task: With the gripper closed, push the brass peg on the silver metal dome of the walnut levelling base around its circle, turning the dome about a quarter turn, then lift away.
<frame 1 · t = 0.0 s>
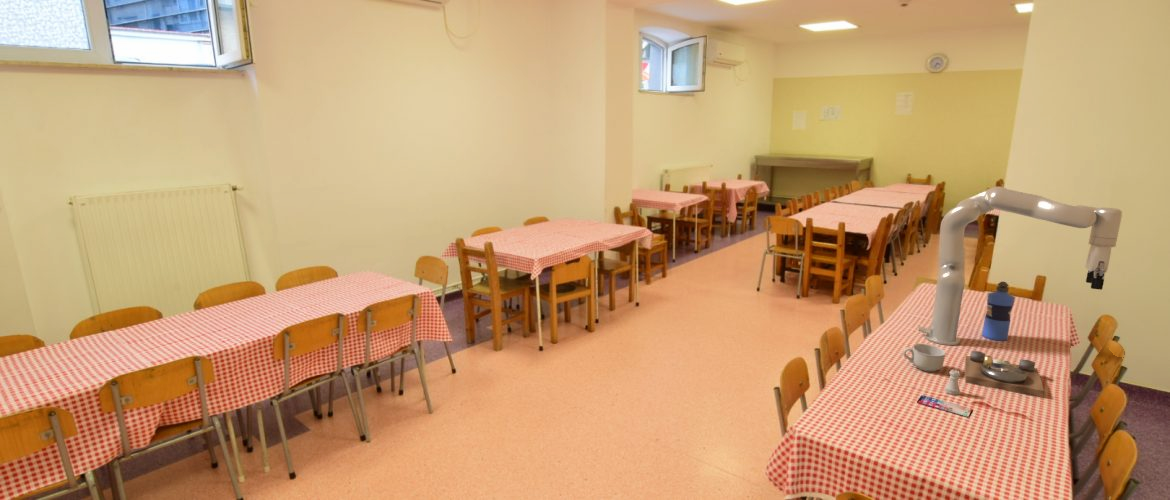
hand: (1093, 285, 215), 31 cm above the table, tool pointing down, fingers open, 9 cm apart
smartphone: (944, 407, 187), on the table
levelling base: (1001, 378, 208), on the table
teacup: (921, 368, 217), on the table
silver metal dome: (1004, 367, 203), point 6 cm above the table, hinge at 0.0°
rook chess piece: (951, 393, 197), on the table
water bottle: (994, 337, 248), on the table
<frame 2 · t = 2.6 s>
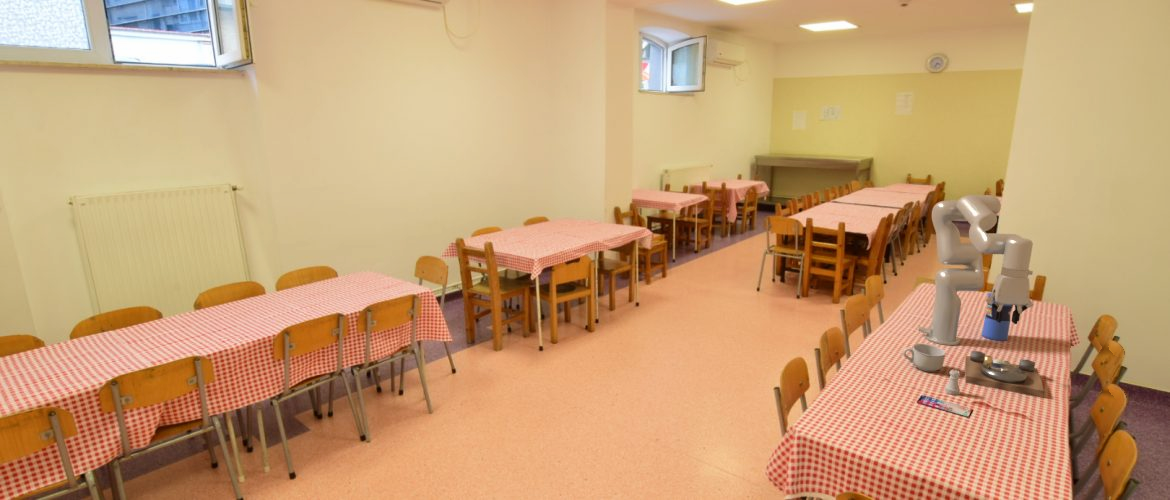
hand: (1006, 321, 205), 21 cm above the table, tool pointing down, fingers open, 4 cm apart
nothing on the table moved.
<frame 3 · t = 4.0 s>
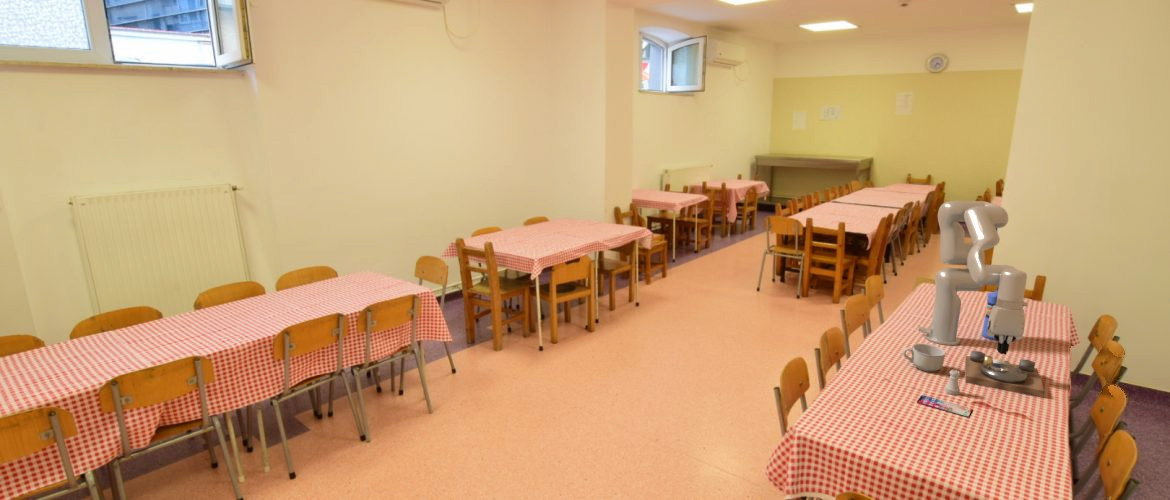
hand: (1001, 352, 206), 10 cm above the table, tool pointing down, fingers closed
nothing on the table moved.
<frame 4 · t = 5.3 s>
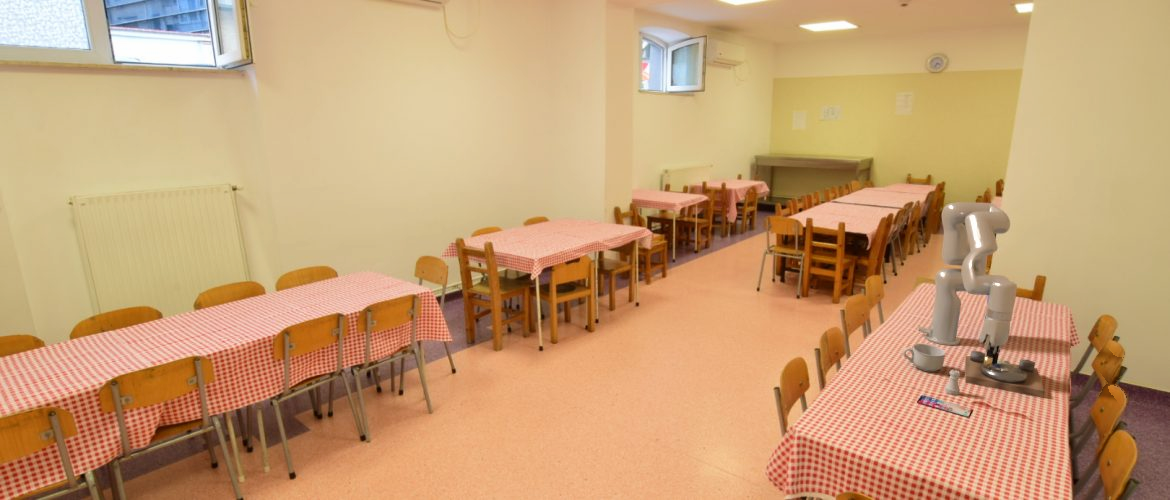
hand: (991, 362, 208), 6 cm above the table, tool pointing down, fingers closed
silver metal dome: (1004, 367, 203), point 6 cm above the table, hinge at 3.7°, touching gripper
everything else where it was.
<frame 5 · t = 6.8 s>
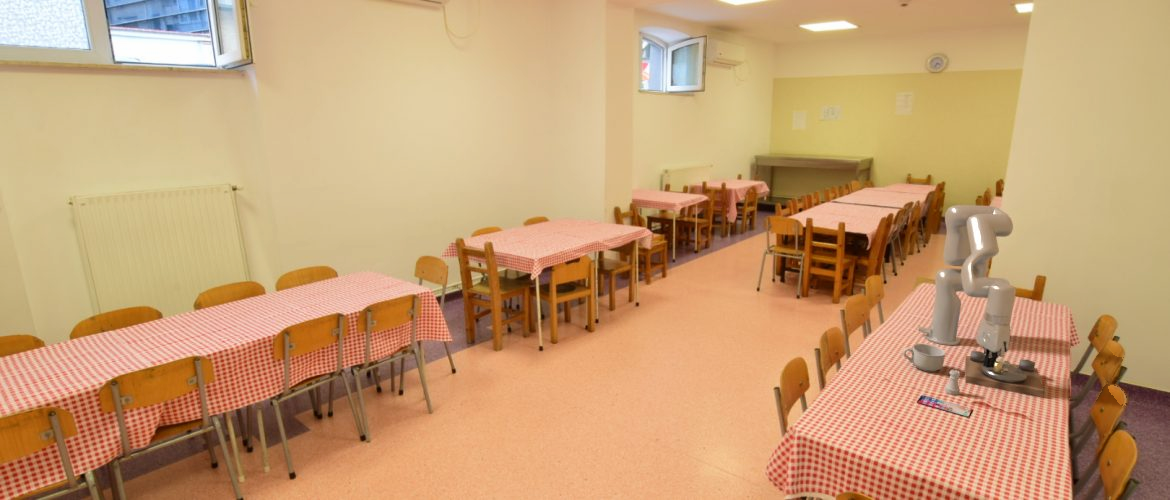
hand: (988, 366, 204), 6 cm above the table, tool pointing down, fingers closed
silver metal dome: (1004, 367, 203), point 6 cm above the table, hinge at 62.5°, touching gripper
everything else where it was.
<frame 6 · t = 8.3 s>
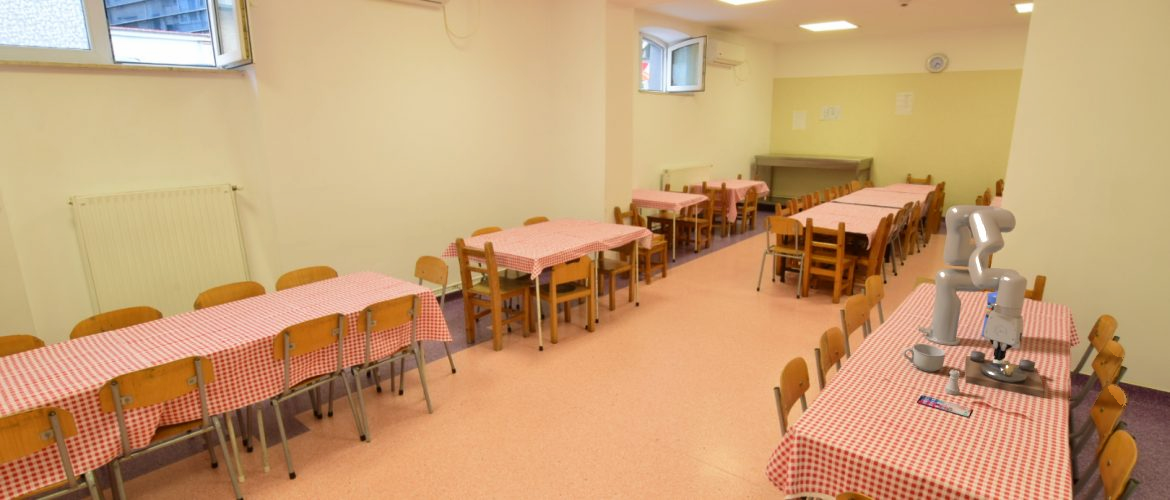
hand: (998, 359, 201), 10 cm above the table, tool pointing down, fingers closed
silver metal dome: (1004, 367, 203), point 6 cm above the table, hinge at 99.7°
everything else where it was.
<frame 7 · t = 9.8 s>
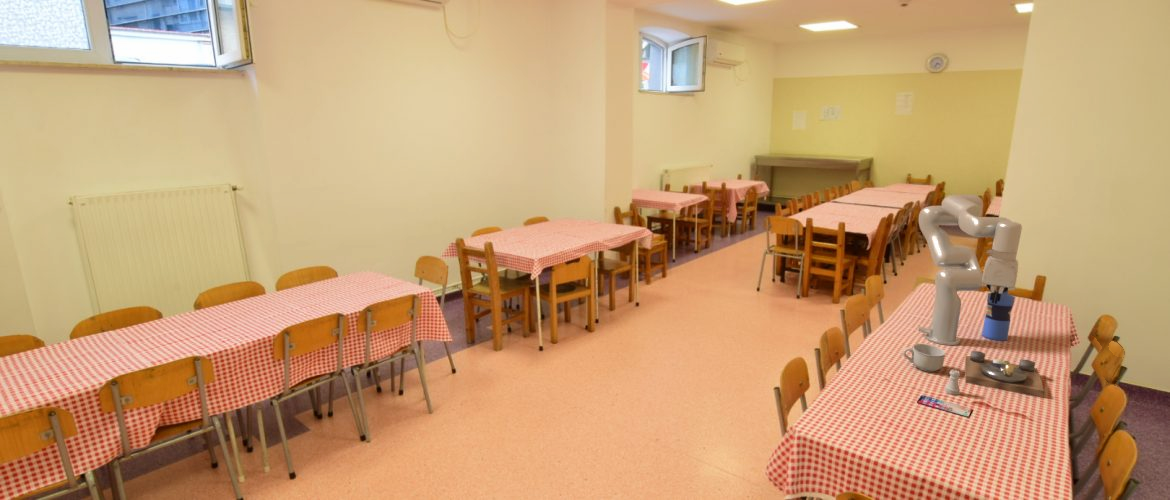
hand: (994, 302, 213), 25 cm above the table, tool pointing down, fingers closed
nothing on the table moved.
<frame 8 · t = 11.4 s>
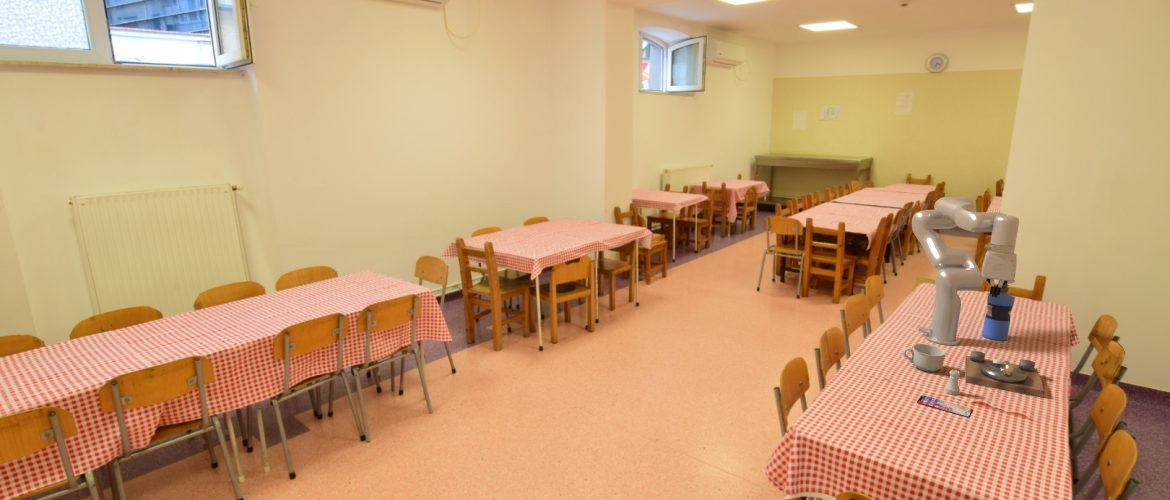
hand: (994, 296, 215), 27 cm above the table, tool pointing down, fingers closed
nothing on the table moved.
at the end: silver metal dome at +100° (first picture: +0°) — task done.
